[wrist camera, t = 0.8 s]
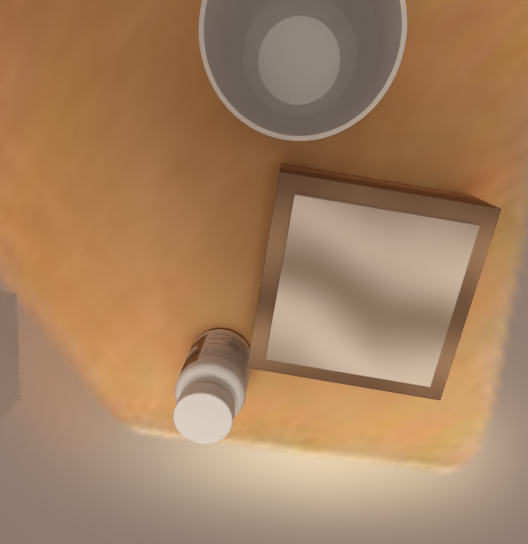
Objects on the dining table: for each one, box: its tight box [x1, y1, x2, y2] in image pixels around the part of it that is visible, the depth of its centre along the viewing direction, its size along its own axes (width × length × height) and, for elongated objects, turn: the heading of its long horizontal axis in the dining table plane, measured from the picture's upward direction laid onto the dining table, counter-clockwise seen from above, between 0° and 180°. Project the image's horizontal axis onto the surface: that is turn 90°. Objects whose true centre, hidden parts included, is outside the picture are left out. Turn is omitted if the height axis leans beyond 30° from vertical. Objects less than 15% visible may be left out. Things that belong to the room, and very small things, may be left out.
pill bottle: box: [173, 329, 250, 444], centre depth 31 cm, size 4×4×8 cm
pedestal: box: [247, 164, 501, 400], centre depth 30 cm, size 12×12×5 cm
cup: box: [199, 0, 407, 141], centre depth 24 cm, size 8×8×10 cm
